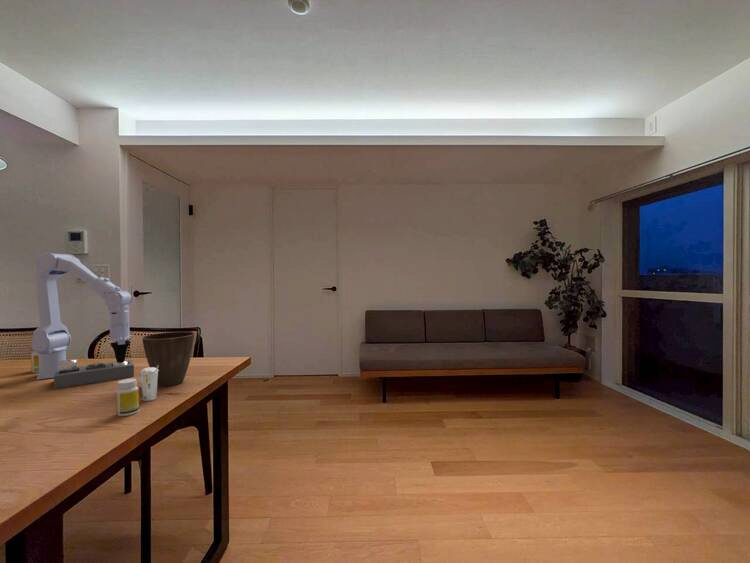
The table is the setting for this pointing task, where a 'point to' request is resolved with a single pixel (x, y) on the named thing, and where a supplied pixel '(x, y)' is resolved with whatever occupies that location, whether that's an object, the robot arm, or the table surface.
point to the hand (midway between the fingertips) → (120, 361)
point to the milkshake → (149, 383)
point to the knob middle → (95, 366)
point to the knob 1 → (68, 365)
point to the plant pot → (169, 355)
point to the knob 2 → (120, 363)
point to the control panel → (93, 374)
